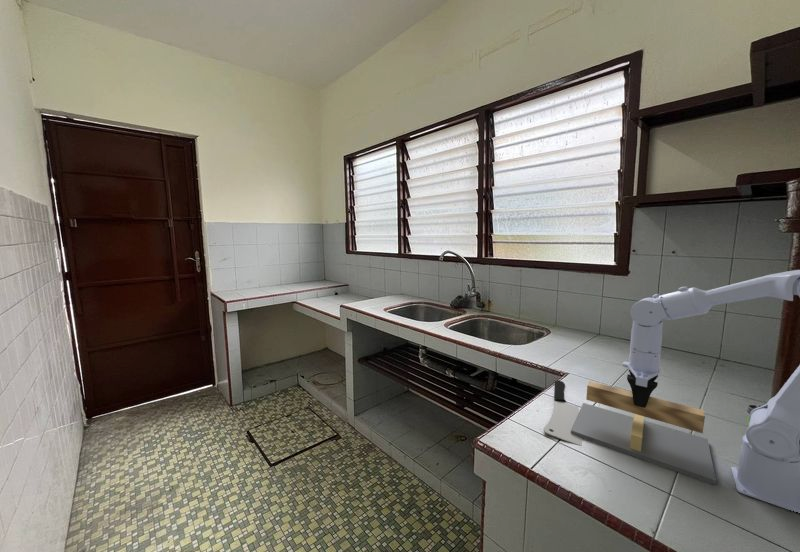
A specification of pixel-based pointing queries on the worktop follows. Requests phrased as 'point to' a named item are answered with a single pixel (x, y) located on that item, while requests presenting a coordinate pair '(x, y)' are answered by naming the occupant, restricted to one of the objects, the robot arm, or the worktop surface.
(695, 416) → the oak beam
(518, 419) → the worktop surface
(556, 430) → the kitchen cleaver
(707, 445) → the ridge stand
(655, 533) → the worktop surface
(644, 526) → the worktop surface
